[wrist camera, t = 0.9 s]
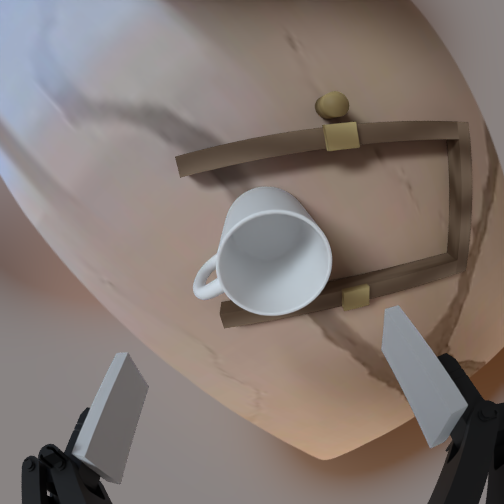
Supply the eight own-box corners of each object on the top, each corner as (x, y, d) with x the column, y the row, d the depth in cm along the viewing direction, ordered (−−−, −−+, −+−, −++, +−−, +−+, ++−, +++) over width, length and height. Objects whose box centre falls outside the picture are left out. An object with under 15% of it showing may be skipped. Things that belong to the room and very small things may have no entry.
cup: (318, 237, 30) (348, 283, 20) (223, 289, 32) (216, 349, 23) (281, 169, 27) (299, 186, 18) (181, 230, 29) (152, 274, 20)
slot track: (174, 124, 25) (165, 123, 22) (451, 96, 23) (468, 95, 20) (226, 317, 33) (224, 334, 30) (455, 264, 31) (468, 274, 28)
